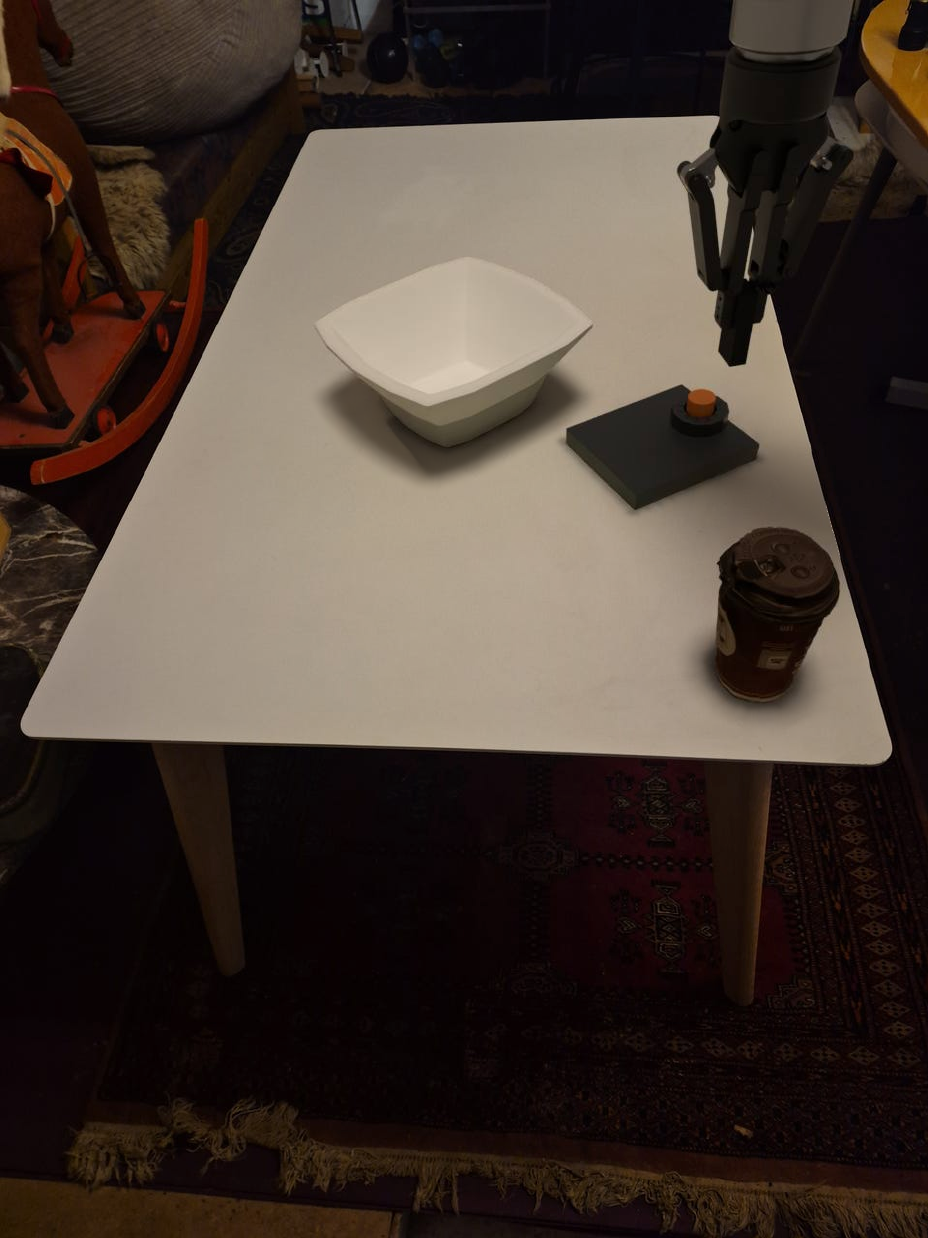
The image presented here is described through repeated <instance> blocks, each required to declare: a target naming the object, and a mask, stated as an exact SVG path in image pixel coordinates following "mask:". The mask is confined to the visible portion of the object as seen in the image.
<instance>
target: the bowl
mask: <svg viewBox="0 0 928 1238" xmlns="http://www.w3.org/2000/svg"><path fill="white" fill-rule="evenodd" d="M313 325H314V329H315V330H316V332H317V334H318V336H319V337H320V339H321V340H322V342H323V344H324V345H325V347H326V349H328V351H330V352H331V353H332V355H334V357H336V358H337V359H338V360H340V362H341V363H342V364H343V365H345V366H346V367H347V369H349V370H350V371H351V372H352V373H353V374H354V375H356V376H357V377H358V378H359V379H361V380H362V381H364V383H366V384H367V385H368V386H370V387H371V388H372V389H374V390H375V391H376V392H377V393H378V394H379V396H380V397H381V399H382V400H383V402H384V403H385V405H386V406H387V408H388V409H389V411H390V412H391V413H392V415H394V416H395V417H396V419H398V420H399V421H400V423H402V424H403V425H404V426H405V427H406V428H408V429H409V430H411V431H412V432H414V433H416V434H417V435H418V436H420V437H422V438H424V439H425V440H427V441H429V442H431V443H434V444H436V445H438V446H441V447H443V448H451V447H454V446H456V445H460V444H464V443H467V442H469V441H472V440H474V439H475V438H478V437H480V436H482V435H483V434H485V433H487V432H490V431H491V430H493V429H495V428H497V427H499V426H501V425H502V424H504V423H507V422H508V421H510V420H512V419H514V418H515V417H517V416H520V415H521V414H522V413H523V412H524V411H525V410H526V409H527V408H528V407H530V406H531V405H532V404H533V403H534V401H535V399H536V397H537V395H538V393H539V391H540V389H541V387H542V385H543V383H544V381H545V379H546V377H547V375H548V373H549V372H550V371H551V370H552V369H553V368H554V367H555V366H556V365H557V364H558V363H559V362H560V361H561V360H562V359H563V358H564V357H565V356H566V355H567V354H568V353H569V352H570V351H571V350H572V349H573V348H574V347H575V346H576V345H577V344H578V343H579V342H580V341H581V340H582V339H583V338H584V337H585V336H586V335H587V334H588V333H589V332H590V331H591V330H592V328H593V326H594V323H593V320H591V319H590V317H588V316H587V314H585V313H584V312H583V311H581V310H580V309H579V307H577V306H576V305H575V304H574V303H573V302H571V301H570V300H568V299H567V298H566V297H564V296H563V295H561V294H559V293H557V292H556V291H555V290H552V289H551V288H549V287H548V286H546V285H545V284H543V283H541V282H539V281H538V280H536V279H533V278H532V277H528V276H526V275H525V274H522V273H519V272H517V271H515V270H512V269H510V268H507V267H505V266H503V265H500V264H498V263H494V262H490V261H487V260H483V259H480V258H476V257H473V256H469V255H468V256H463V257H460V258H455V259H453V260H449V261H446V262H441V263H438V264H434V265H431V266H429V267H427V268H423V269H422V270H419V271H417V272H414V273H412V274H409V275H407V276H405V277H402V278H400V279H397V280H395V281H393V282H390V283H388V284H386V285H383V286H381V287H378V288H377V289H374V290H372V291H369V292H367V293H365V294H362V295H360V296H359V297H356V298H354V299H352V300H349V301H346V302H345V303H343V304H342V305H340V306H339V307H337V308H336V309H334V310H332V311H331V312H328V314H326V315H324V316H323V317H321V318H320V319H318V320H317V321H316V322H314V324H313Z"/></svg>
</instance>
